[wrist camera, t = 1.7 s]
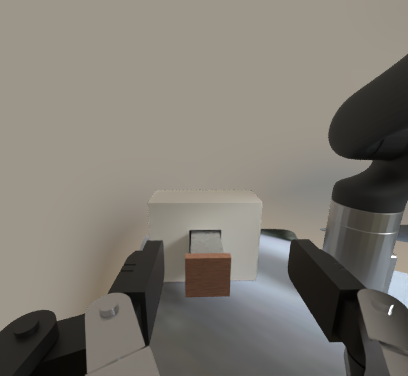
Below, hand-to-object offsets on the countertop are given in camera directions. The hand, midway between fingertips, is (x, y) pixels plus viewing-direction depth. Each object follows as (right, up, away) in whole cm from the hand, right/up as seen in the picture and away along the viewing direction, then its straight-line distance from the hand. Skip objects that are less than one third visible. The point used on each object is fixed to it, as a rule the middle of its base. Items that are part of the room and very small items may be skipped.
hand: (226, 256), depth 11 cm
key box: (-1, -13, +34) cm, 37 cm away
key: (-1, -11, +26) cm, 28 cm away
